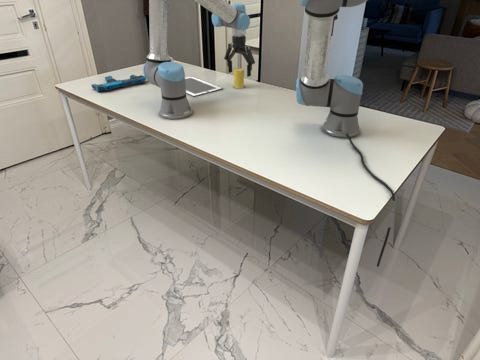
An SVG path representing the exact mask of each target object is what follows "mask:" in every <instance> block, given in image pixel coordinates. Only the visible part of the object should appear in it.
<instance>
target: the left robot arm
mask: <svg viewBox="0 0 480 360" xmlns="http://www.w3.org/2000/svg"><path fill="white" fill-rule="evenodd" d="M193 1H194V2H196V3H197V4H199V5H200V6H202V7H203V8H204V9H206V10H207V11H209V12H210V13H211V23H212V25H213V26H214V27H216V28H221V27H226V28H230V29H231V35H232V36H231V42H229V43H227V49H226V52H225V55H224V58H223V59H224V60H225V61H226V64H227V67H228V74H230V73H233V60H232V59H233V57H234V56H235V55H236V54H241V55H242V57H243V58H244V60H245V61H246V63H247V65H246V77H247V78H249V77H251V76H252V71H253V65H254V64H256V61H255V58H254V55H253V53H252V50H251V45H246V42H247V37H246V30H248V28H249V27H250V24H251V18H250V16H249V15H248V14H247V12H246V11H247V9H246V5H245V4H244V3H233V4H230V3H229V2H227V0H193ZM169 3H170V1H169V0H148V12H149V13H148V14H149V15H148V16H149V21H148V22H149V53H148V55H146V61H145V63H144V64H143V67H142V72H143V76H145V78H146V81H147V82H149V83H150V84H151V85H154V86H156V87H158V88H159V89H160V93H161V102H160V108H159V114H160V116H161V117H162V118H164V119H167V120H179V119H185V118H188V117H190V116H191V115H192V107H191V104H190V102H189V100H188V97H187V93H186V85H185V78H186V72H185V68H184V66H183V65H182V64H181V63H178V62H176V61H175V62H171V58H170V57H171V56H170V55H169V14H170V13H169V11H170V9H169V5H170V4H169Z"/></svg>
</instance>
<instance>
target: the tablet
mask: <svg viewBox="0 0 480 360" xmlns="http://www.w3.org/2000/svg"><path fill="white" fill-rule="evenodd" d="M185 85H186V95H190V96H192V97H197V96H202V95H205V94H208V93H212V92H216V91H220V90H223V87H221V86H217V85H215V84H212V83H210V82H207V81H205V80H201V79H199V78H197V77H196V76H195V77H194V76H192V75H191V76H187V77H185Z"/></svg>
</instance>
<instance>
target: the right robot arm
mask: <svg viewBox="0 0 480 360" xmlns="http://www.w3.org/2000/svg"><path fill="white" fill-rule="evenodd" d="M368 1H369V0H300V6H301V7H303V8H304V13H305V14H306V16H308V22H307V33H306V35H307V36H306V46H305V47H306V49H305V60H304V71H302V72H301V74H300V76H297V78H296V83H295V84H296V85H295V96H296V97H295V98H296V102H297V104H298V105H301V106H305V107H320V108H329V112H328V115H327V116H326V118H325V121H324V123H323V126H322V130H323V132H324V133H325V134H326V135H329V136H332V137H335V138H339V139H341V138H342V139H347V140H348V141H349V143H350V145H351V146H352V148H353V149H354V151H356V152H357V153H358V154H359V157H360V161H361V165H362V166H363V168H364V169H365V170H366V172H367V173H368V174H369V175H370V176H371V177H372V178H373V179H375V180H376V181H378V182H379V183H381V184H382V185H383V186H384V187H385V188H386V189H387V190H388V191H389V192H390V195H391V199H392V200H391V201H393V202H395V201H396V197H395V193H394V192H395V191H394V190H393V189H392V188H391V187H390V186H389V185H388V184H387V183H386V182H384V180H382V179H380V177H377V176H376V175H375V174H374V173H373V172H372V171H371V170H370V169H369V168H368V167H367V165H366V163H365V161H364V155H363V153H362V152H361V151H360V149H359V148H357V147H356V145H355V144H354V143H353V141H352V139H351V138H354V137H356V136H357V135H359V132H360V125H359V118H358V117H359V116H358V114H359V111H360V110H359V109H360V104H361V99H362V95H363V89H364V83H363V82H362V80H361V79H359V78H358V77H355V76H352V75H348V74H337V75H334V78H330V74H329V73H328V72H327V69H328V62H329V56H330V55H329V54H330V49H331V48H330V47H331V40H332V37H333V35H334V28H335V21H336V20H338V18H339V17H338V14H339V13H340V9H341V8H353V7H357V6H361V5H363V4H364V3H366V2H368ZM390 232H391V226H389V227H387V230H386V235H385V237H384V238H385V239H384V241H383V243H382V247H381V250H380V253H379V256H378V260H377V263H376V267H377V268H378V267H379V268H380V264H381V260H382V258H383V254H384V252H385V248H386V245H387V242H388V239H389V235H390Z"/></svg>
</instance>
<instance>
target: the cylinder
mask: <svg viewBox="0 0 480 360" xmlns="http://www.w3.org/2000/svg"><path fill="white" fill-rule="evenodd" d="M233 87H234V88H235V89H244V87H245V69H244V68H241V67H239V68H234V69H233Z"/></svg>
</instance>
